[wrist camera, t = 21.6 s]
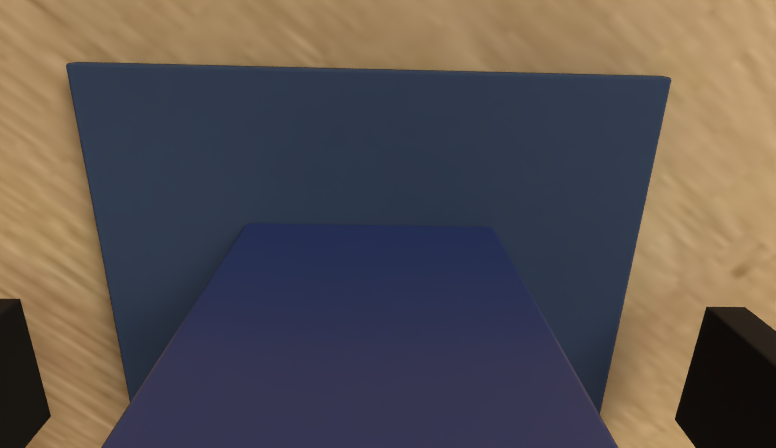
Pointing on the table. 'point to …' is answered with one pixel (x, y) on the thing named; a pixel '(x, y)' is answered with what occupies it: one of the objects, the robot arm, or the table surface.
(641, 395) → the table surface
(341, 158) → the blue mat
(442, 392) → the blue block
